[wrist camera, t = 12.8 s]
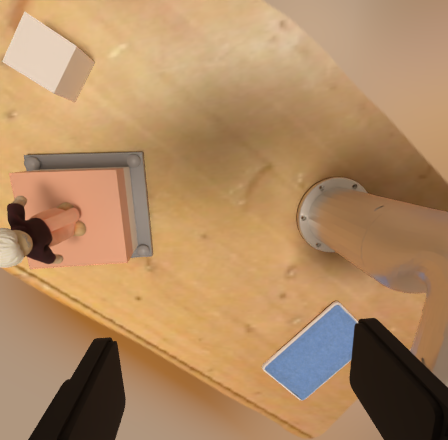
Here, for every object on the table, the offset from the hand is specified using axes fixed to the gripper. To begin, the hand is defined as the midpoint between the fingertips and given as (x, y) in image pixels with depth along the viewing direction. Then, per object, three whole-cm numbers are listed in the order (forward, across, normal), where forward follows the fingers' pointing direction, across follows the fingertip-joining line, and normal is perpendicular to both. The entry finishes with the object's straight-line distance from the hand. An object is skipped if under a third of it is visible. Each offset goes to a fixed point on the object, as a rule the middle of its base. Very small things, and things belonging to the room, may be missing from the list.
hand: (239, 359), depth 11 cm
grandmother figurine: (+25, +18, -1) cm, 31 cm away
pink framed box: (+33, +18, 0) cm, 37 cm away
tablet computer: (+35, -19, +30) cm, 50 cm away
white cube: (+33, +19, -19) cm, 43 cm away
